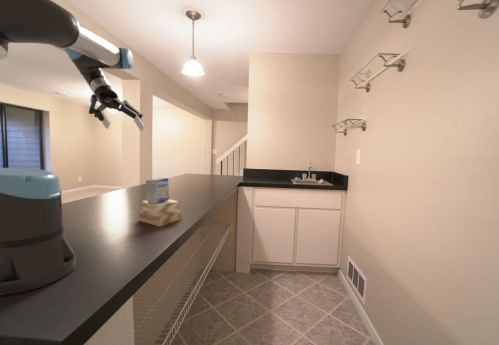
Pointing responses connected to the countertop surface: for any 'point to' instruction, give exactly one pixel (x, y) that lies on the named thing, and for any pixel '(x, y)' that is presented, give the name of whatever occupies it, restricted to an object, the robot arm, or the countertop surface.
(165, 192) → the medicine box
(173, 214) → the tower bottom slab
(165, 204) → the tower top slab
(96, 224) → the countertop surface
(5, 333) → the countertop surface
